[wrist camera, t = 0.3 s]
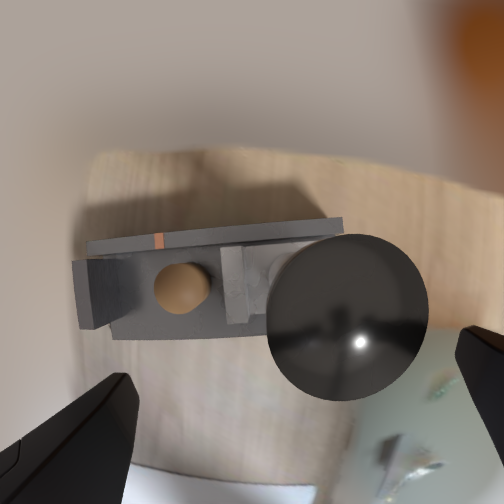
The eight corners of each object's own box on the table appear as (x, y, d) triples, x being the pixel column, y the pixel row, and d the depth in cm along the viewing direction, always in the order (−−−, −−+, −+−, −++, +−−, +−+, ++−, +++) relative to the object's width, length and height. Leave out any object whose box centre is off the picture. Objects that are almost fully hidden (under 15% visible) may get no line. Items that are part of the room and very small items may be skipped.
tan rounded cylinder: (197, 313, 21) (185, 323, 18) (162, 289, 22) (145, 295, 18) (219, 277, 21) (211, 282, 18) (184, 254, 21) (170, 253, 18)
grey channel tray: (331, 222, 22) (350, 213, 17) (338, 324, 22) (358, 344, 17) (106, 243, 23) (70, 240, 17) (117, 337, 22) (84, 355, 17)
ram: (325, 240, 21) (443, 214, 6) (330, 304, 21) (442, 389, 6) (227, 248, 21) (151, 237, 6) (232, 313, 21) (176, 422, 6)
